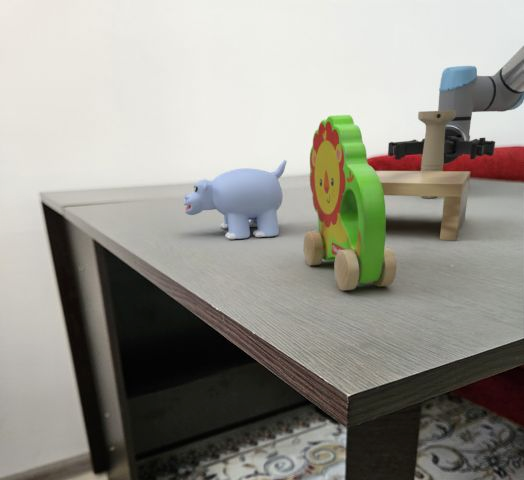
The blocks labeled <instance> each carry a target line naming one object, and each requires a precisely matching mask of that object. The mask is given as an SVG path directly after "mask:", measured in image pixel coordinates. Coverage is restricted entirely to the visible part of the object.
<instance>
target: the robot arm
mask: <svg viewBox="0 0 524 480" xmlns="http://www.w3.org/2000/svg"><path fill="white" fill-rule="evenodd" d="M438 91H439V93H438V107H437V111H450V110H456V116H455V118H454V119H453V120H451V121H450V122H448V123H447V124H446V128H445V140H444V163H443V165H448V164H451V163H452V162H454V161H455V160H457V159H459V157H462V156H463V155H469V156H470V157H469V160H475V159H476V158H477V157H483V156H488V157H492V156H494V153H495V148H496V147H495V146H496V140H486V137H479V139H478V138H474V139H471V135H470V131H471V123H472V117H473V116H472V115H473V113H481V112H482V113H484V112H497V113H499V112H501V113H502V112H507V111H513V110H516V109H517V108H519V107H520V106H521V105H522V104H524V45H522V47H520V48H519V50H518V51H516V52H515V53H514V55H512V56H511V58H510V59H509V60H508V61H507V62H506V63H504V65H503V66H502V67H501V68H500V69H499V70H498V71H497V72H496V73H494V74H493V75H478V69H477V67H476V66H475V65H460V66H458V65H457V66H450V67H445V69H443V71H442V73H441V78H440V83H439V88H438ZM424 141H425V138H422V140H420V141H419V140H417V139H411V140H404V141H395V142H394V141H390V142H388V145H387V147H388V148H387V156H388V157H393V156H394V160H396V161H397V160H399V161H401V159H403V158H405V157H406V156H414V155H420V156H421V157H422V155H423V149H424Z"/></svg>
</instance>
